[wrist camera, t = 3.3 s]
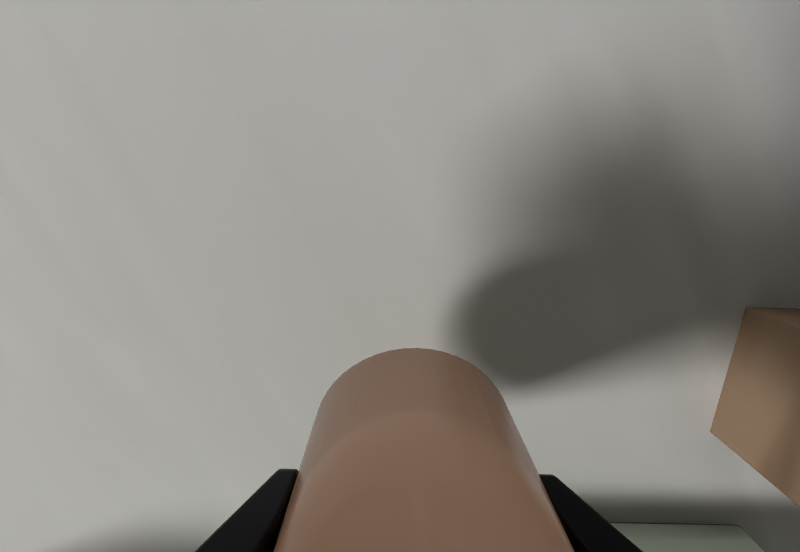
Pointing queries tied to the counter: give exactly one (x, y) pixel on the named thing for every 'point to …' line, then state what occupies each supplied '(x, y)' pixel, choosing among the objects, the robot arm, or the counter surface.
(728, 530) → the box
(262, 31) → the counter surface
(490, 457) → the egg
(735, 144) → the counter surface
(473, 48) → the counter surface
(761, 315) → the walnut cube
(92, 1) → the counter surface
